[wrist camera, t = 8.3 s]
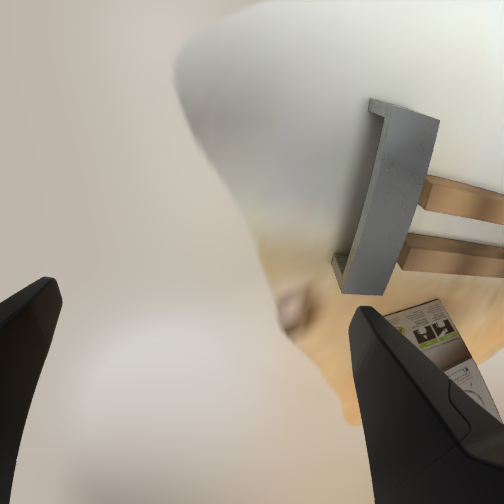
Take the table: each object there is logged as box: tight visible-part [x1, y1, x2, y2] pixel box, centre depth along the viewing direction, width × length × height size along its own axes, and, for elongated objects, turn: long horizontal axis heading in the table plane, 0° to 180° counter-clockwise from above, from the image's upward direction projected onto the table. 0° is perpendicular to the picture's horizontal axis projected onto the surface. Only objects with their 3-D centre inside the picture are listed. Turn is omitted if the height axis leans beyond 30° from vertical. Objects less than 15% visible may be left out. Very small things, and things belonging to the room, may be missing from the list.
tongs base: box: [397, 233, 504, 278], centre depth 20 cm, size 15×7×2 cm, turn 84°
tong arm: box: [418, 175, 504, 225], centre depth 18 cm, size 15×2×4 cm, turn 85°
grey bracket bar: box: [331, 98, 440, 296], centre depth 18 cm, size 3×12×3 cm, turn 174°
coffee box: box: [384, 300, 503, 424], centre depth 21 cm, size 9×6×16 cm
